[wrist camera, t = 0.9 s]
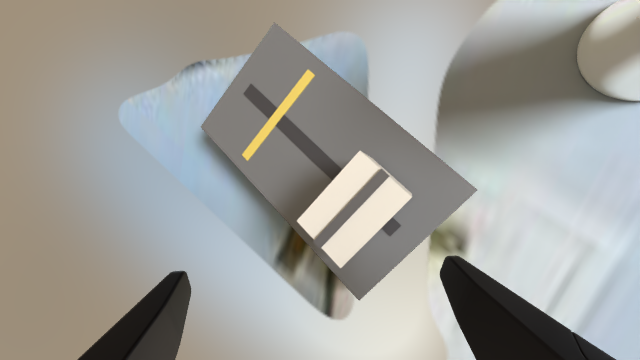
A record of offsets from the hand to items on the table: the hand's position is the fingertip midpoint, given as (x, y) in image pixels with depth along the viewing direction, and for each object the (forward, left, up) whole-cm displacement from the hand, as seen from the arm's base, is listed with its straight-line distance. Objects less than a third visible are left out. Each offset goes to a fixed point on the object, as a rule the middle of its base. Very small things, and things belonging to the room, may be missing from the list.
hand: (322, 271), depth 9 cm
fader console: (+6, -1, -12) cm, 13 cm away
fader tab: (+1, -1, -8) cm, 8 cm away
